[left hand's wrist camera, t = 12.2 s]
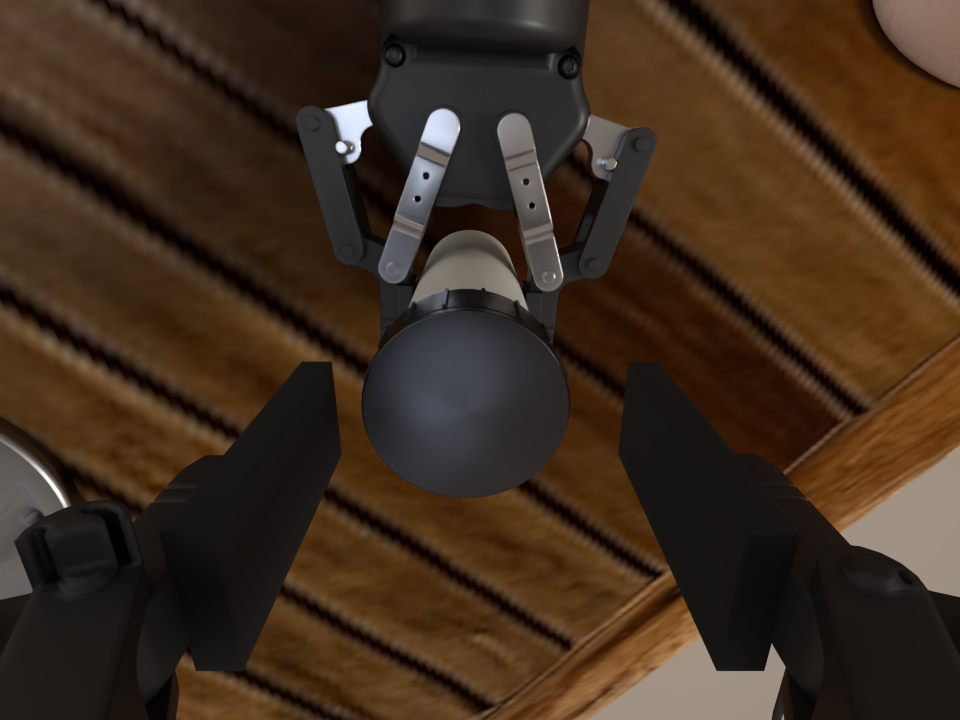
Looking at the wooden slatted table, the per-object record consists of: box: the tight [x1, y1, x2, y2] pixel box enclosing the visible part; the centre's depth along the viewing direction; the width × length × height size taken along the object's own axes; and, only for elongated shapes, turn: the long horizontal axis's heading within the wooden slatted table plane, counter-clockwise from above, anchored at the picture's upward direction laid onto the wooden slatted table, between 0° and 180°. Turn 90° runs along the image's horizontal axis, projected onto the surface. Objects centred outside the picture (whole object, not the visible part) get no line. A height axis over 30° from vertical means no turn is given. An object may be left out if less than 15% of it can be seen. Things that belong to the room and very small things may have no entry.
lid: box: [361, 288, 570, 498], centre depth 15 cm, size 6×6×2 cm
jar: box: [409, 230, 528, 310], centre depth 22 cm, size 5×5×16 cm
